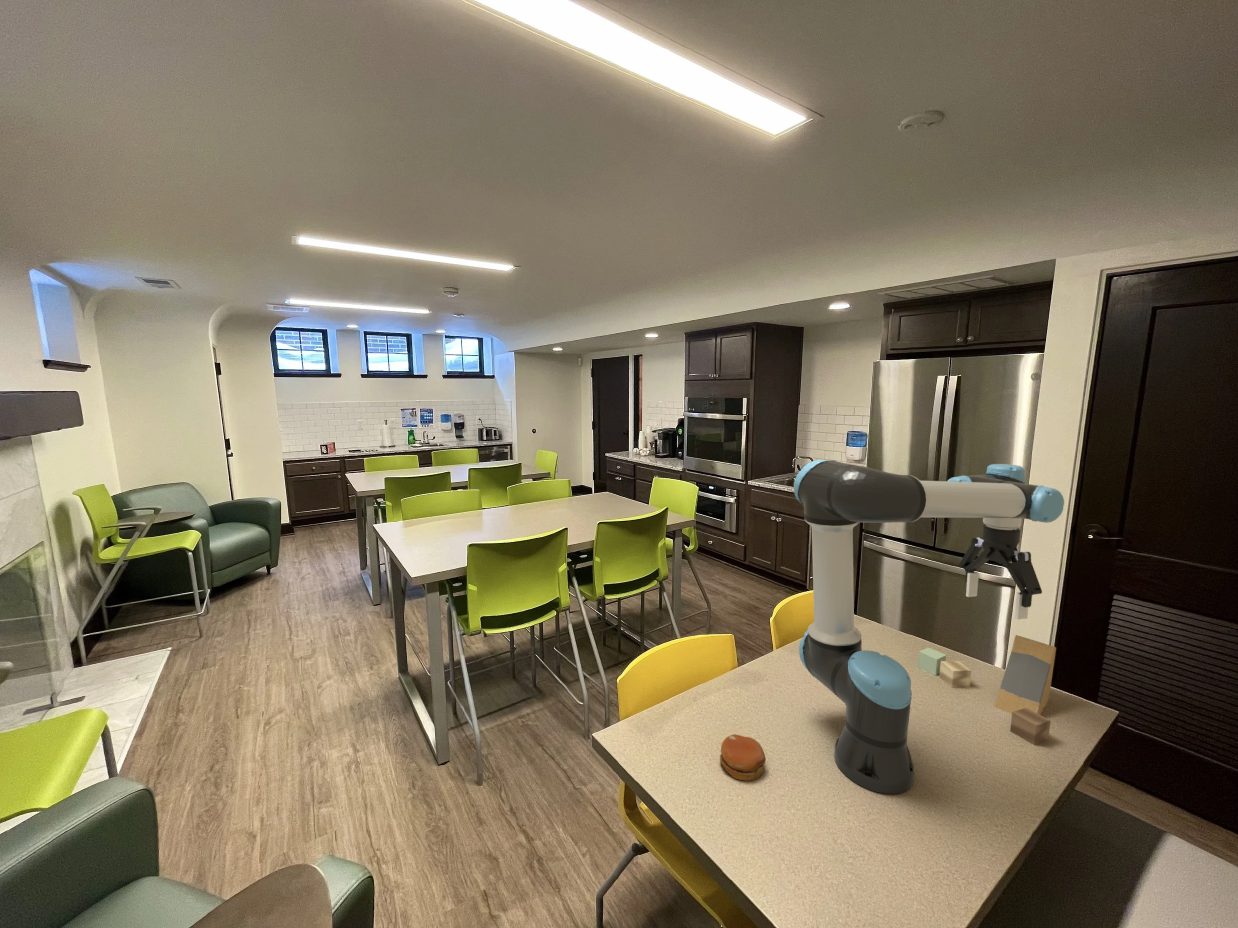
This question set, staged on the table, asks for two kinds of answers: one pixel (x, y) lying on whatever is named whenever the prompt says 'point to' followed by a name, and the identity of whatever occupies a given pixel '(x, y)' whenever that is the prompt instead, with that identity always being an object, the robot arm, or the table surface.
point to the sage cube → (930, 660)
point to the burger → (742, 757)
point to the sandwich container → (1027, 676)
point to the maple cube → (955, 674)
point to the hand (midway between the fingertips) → (994, 606)
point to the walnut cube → (1030, 726)
